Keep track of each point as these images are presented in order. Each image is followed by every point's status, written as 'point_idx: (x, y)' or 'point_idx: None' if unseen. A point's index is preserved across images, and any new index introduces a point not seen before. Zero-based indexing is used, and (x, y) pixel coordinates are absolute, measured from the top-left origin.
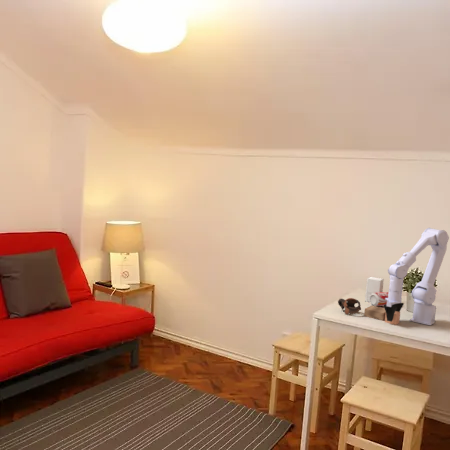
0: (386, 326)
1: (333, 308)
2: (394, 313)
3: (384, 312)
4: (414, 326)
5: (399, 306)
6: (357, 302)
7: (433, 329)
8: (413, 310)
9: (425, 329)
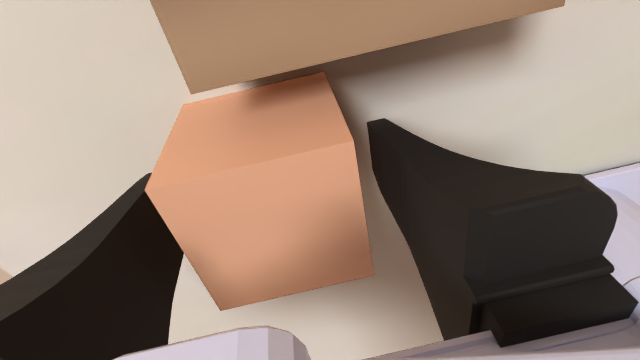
0: (63, 207)
1: None
2: (219, 285)
3: (248, 78)
4: (355, 284)
5: (442, 310)
6: None
7: (405, 343)
8: (618, 271)
9: (356, 334)
